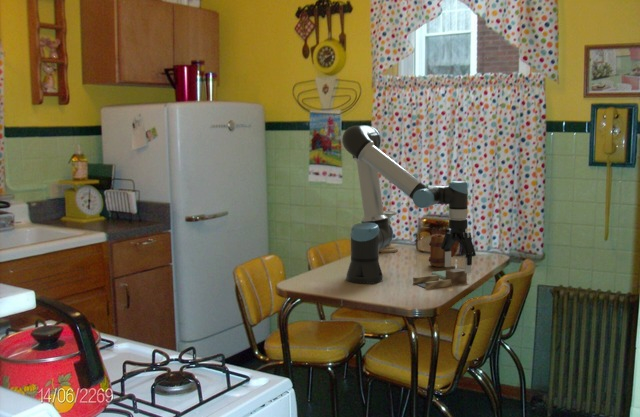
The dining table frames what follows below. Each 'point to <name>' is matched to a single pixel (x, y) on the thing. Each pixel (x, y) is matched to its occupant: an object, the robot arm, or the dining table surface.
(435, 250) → the mug
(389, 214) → the candle holder
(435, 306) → the dining table surface
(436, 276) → the channel
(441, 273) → the plate
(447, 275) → the block
